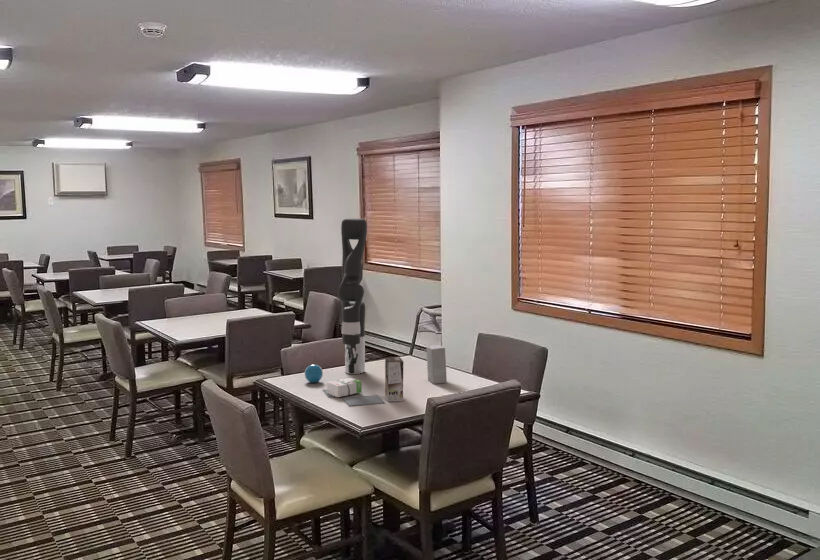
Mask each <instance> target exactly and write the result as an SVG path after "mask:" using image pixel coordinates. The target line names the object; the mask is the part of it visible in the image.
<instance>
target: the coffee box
mask: <svg viewBox="0 0 820 560" xmlns="http://www.w3.org/2000/svg"><path fill="white" fill-rule="evenodd" d="M384 360H385V361H384V375H385V376H384V377H385V378H384V381H385V382H384V384H385V385H384V389H385V390H384V394H385V395H384V396H385V398H386V400H387V402H404V361H403V359H402V358H401V357H400V356H397V357H396V356H392V357H385V358H384Z"/></svg>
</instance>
